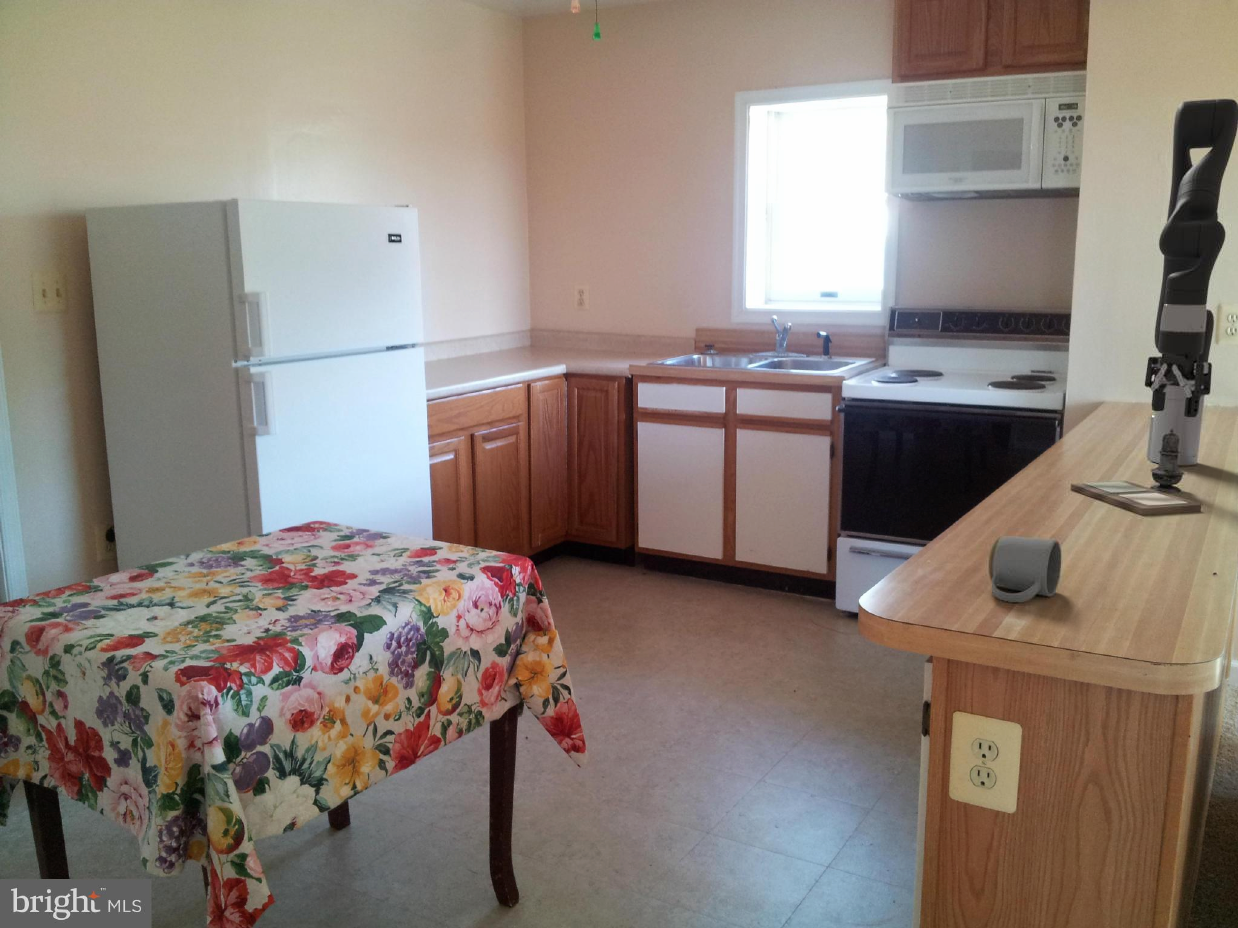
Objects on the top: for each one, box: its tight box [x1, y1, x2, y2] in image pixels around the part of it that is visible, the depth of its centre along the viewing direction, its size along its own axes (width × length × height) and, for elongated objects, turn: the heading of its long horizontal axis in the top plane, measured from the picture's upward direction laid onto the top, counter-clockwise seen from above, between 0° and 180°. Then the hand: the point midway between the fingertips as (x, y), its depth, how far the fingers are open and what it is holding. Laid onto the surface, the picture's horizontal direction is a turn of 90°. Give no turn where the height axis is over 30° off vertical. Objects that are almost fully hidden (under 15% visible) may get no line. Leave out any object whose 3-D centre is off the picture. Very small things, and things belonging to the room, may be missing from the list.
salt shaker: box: [1150, 429, 1186, 494], centre depth 198 cm, size 6×6×12 cm
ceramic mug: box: [988, 535, 1062, 603], centre depth 140 cm, size 11×8×8 cm
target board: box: [1070, 480, 1202, 516], centre depth 191 cm, size 20×12×1 cm, turn 12°
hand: (1173, 413), depth 196 cm, fingers open, 8 cm apart
